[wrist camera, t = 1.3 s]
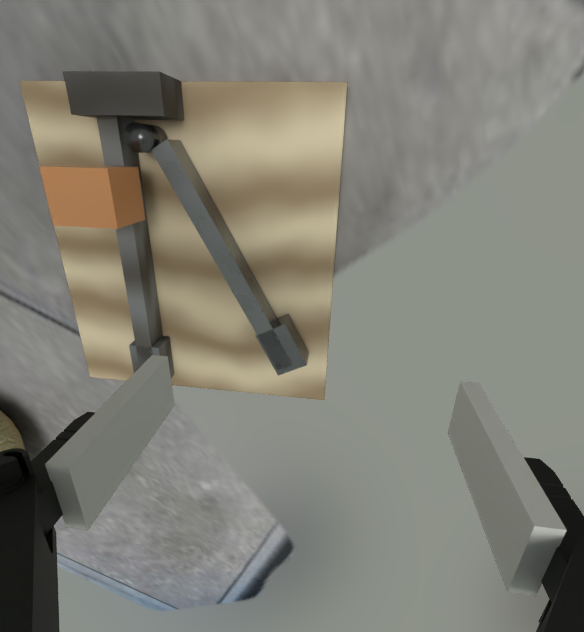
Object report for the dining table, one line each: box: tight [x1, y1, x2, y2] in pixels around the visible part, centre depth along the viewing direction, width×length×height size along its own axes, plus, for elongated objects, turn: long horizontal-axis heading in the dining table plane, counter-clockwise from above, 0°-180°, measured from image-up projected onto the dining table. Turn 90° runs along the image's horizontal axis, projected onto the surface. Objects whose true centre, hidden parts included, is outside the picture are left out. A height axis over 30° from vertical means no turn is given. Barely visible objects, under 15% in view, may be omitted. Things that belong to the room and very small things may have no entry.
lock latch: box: [39, 165, 145, 229], centre depth 27 cm, size 4×5×4 cm
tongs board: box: [20, 72, 347, 400], centre depth 32 cm, size 28×26×5 cm
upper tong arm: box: [124, 122, 309, 376], centre depth 31 cm, size 24×4×3 cm, turn 27°
